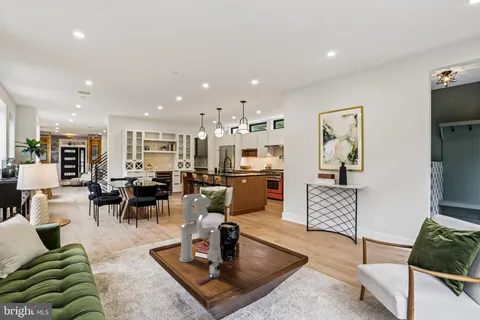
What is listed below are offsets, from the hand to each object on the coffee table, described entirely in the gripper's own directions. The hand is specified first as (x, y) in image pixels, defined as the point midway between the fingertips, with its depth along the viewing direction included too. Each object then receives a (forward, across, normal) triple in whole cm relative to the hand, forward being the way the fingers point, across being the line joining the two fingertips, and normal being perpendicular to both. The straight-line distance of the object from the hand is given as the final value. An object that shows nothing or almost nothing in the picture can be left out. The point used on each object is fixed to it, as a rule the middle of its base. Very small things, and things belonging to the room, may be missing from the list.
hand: (214, 268), depth 191 cm
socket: (+4, 0, 0) cm, 4 cm away
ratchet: (+6, +1, -7) cm, 9 cm away
